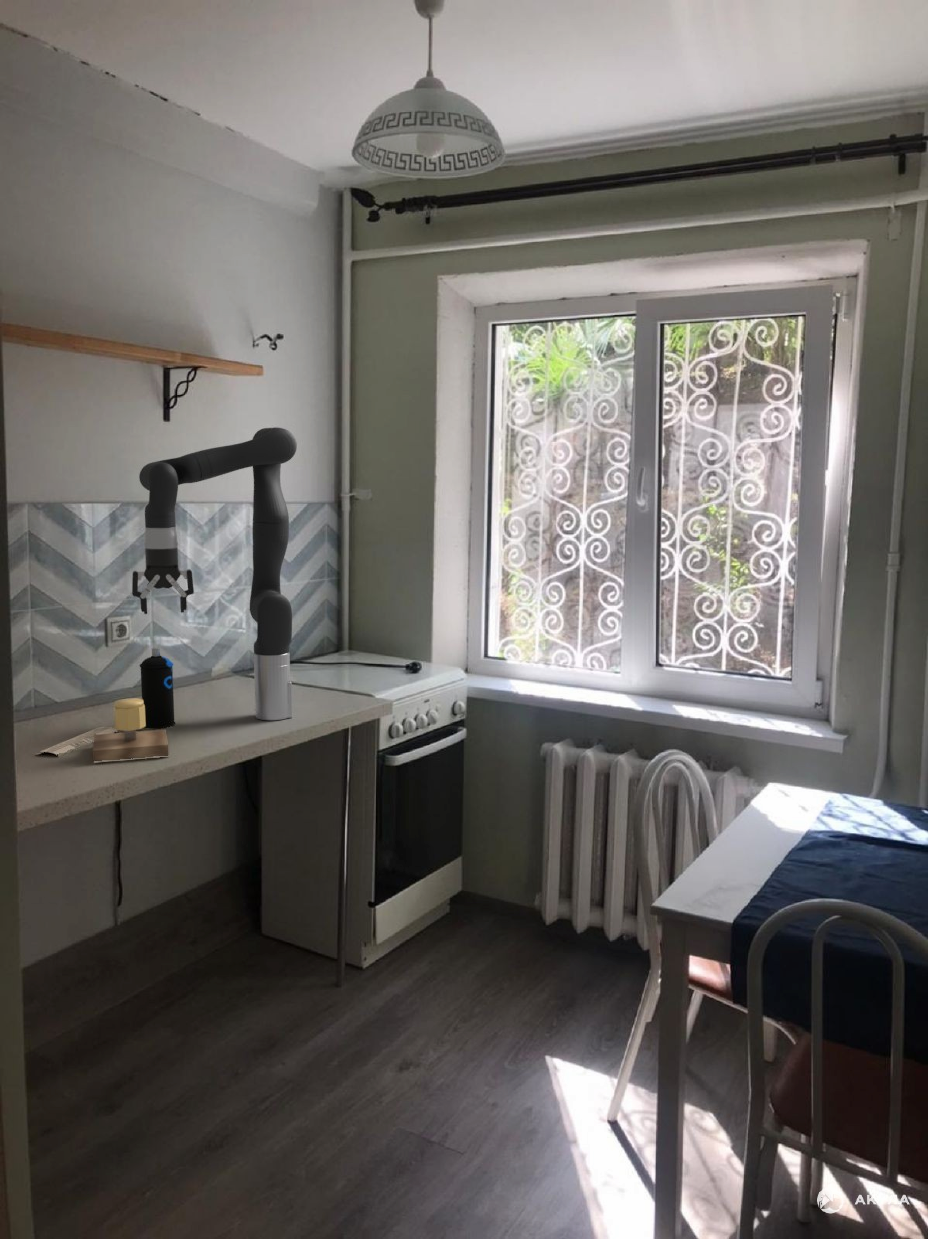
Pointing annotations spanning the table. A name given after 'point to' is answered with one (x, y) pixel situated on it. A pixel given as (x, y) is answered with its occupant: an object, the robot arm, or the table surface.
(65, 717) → the table surface
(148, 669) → the aerosol can
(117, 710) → the cap
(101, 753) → the bolt base
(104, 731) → the newspaper
